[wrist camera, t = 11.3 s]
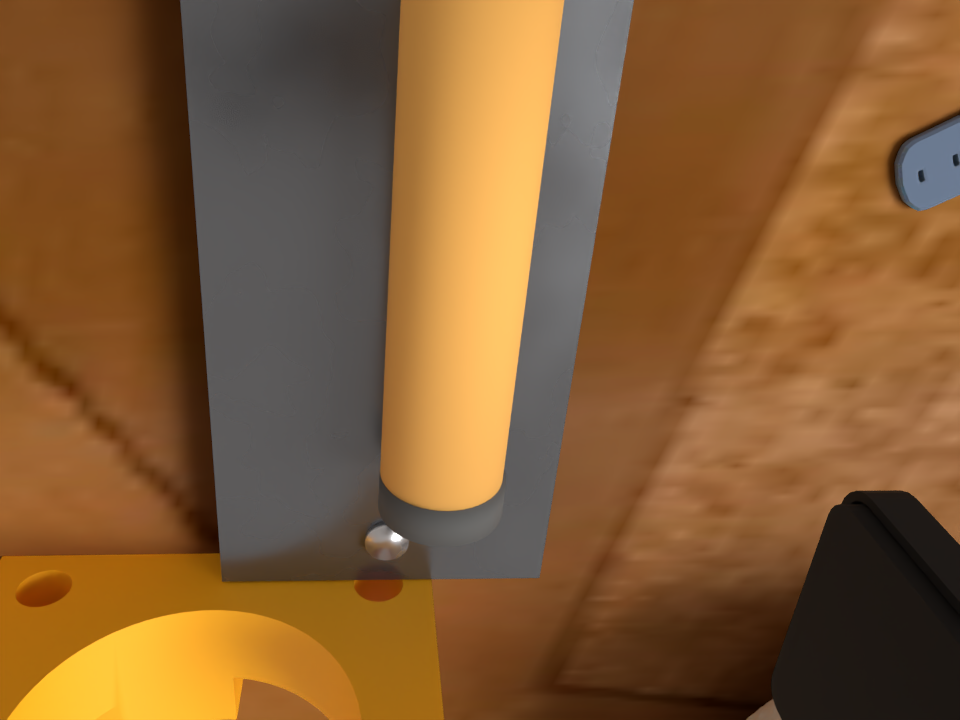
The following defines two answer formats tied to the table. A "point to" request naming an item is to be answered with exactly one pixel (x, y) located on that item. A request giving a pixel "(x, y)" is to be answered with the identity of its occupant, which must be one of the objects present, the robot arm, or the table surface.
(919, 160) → the wristwatch
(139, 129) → the table surface
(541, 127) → the handle
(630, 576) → the table surface
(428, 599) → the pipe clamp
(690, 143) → the table surface
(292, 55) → the mounting plate
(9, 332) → the table surface
